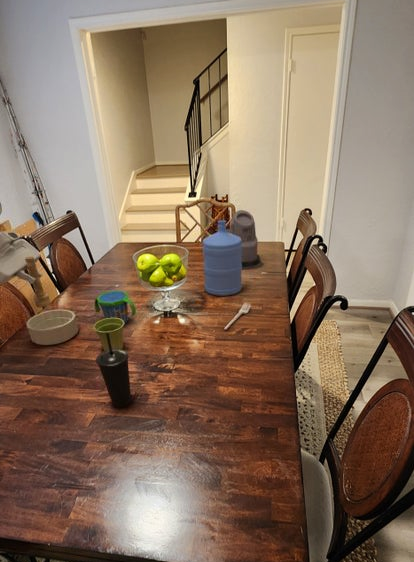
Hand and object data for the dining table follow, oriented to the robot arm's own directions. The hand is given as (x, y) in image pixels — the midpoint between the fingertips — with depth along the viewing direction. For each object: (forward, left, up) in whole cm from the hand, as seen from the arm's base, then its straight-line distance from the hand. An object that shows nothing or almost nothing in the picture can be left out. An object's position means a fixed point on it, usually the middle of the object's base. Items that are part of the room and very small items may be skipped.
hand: (37, 279), depth 112 cm
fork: (+62, +4, -23) cm, 67 cm away
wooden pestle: (-1, 0, -8) cm, 8 cm away
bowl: (-2, +6, -22) cm, 23 cm away
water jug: (+62, +32, -22) cm, 74 cm away
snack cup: (+19, +11, -22) cm, 32 cm away
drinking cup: (+23, -36, -22) cm, 49 cm away
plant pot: (+19, -8, -22) cm, 31 cm away
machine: (+77, +69, -22) cm, 106 cm away
